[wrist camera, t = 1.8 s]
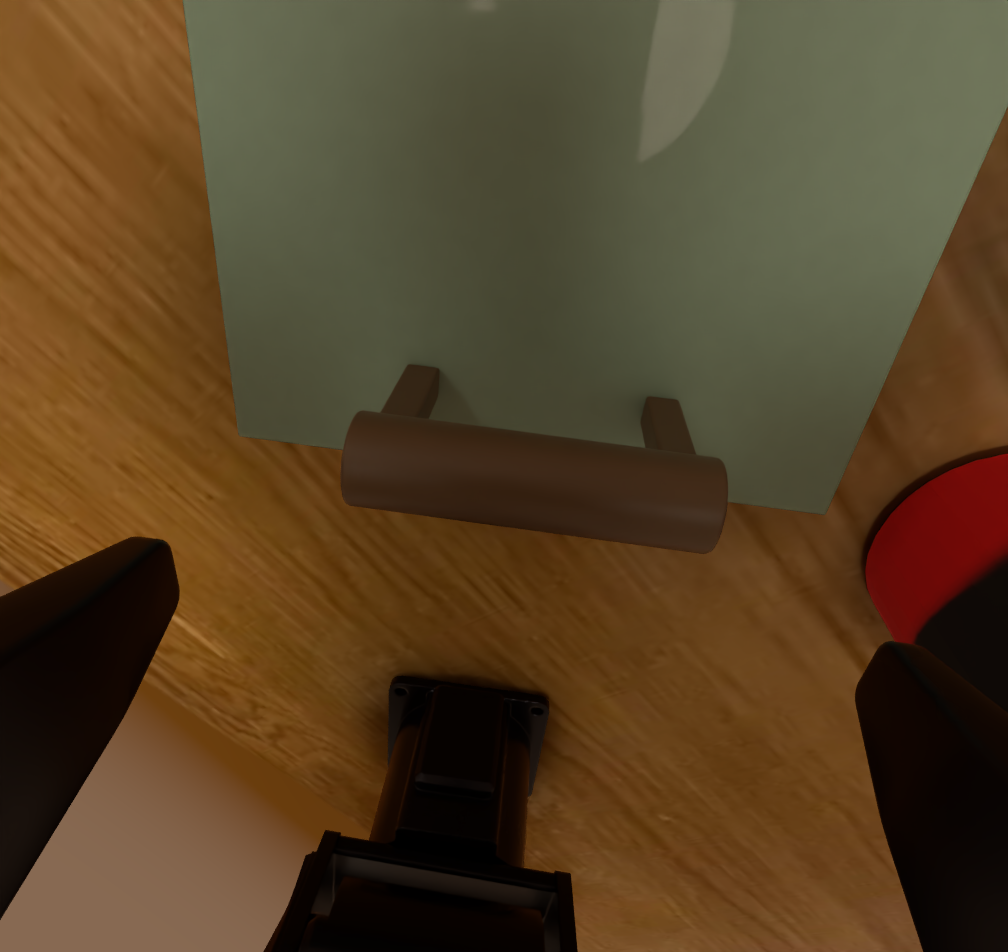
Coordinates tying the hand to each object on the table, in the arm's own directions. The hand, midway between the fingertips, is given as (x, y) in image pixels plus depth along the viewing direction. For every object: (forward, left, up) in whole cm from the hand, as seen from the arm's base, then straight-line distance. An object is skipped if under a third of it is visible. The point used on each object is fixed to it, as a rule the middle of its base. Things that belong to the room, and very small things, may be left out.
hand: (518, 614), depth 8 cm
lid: (+4, 0, -7) cm, 8 cm away
